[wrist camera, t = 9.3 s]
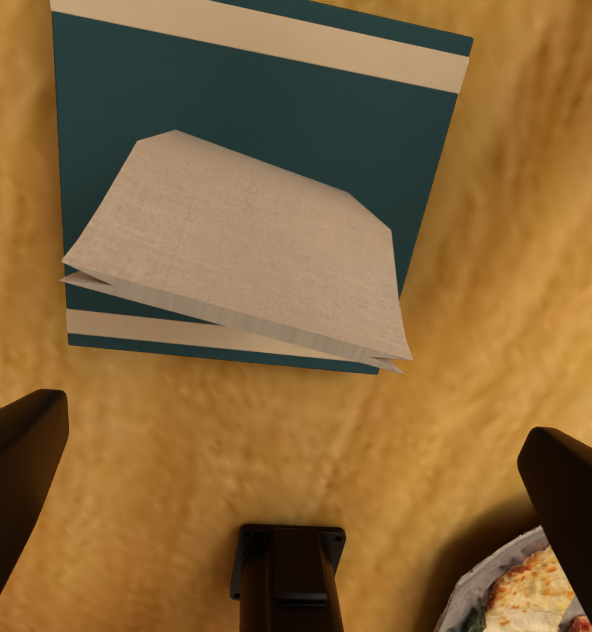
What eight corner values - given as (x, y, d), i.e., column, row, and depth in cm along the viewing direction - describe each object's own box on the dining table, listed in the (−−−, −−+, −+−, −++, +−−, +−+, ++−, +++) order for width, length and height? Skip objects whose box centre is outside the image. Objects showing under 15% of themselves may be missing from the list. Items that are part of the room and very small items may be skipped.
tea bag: (175, 129, 16) (76, 159, 7) (347, 192, 17) (453, 284, 8) (153, 226, 17) (45, 357, 8) (314, 276, 19) (374, 434, 10)
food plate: (637, 682, 40) (671, 732, 36) (386, 694, 36) (399, 750, 33) (803, 470, 29) (871, 514, 26) (473, 462, 26) (503, 511, 23)
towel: (371, 360, 22) (378, 376, 21) (78, 330, 20) (66, 346, 19) (458, 42, 17) (476, 37, 15) (64, -45, 15) (45, -60, 13)
